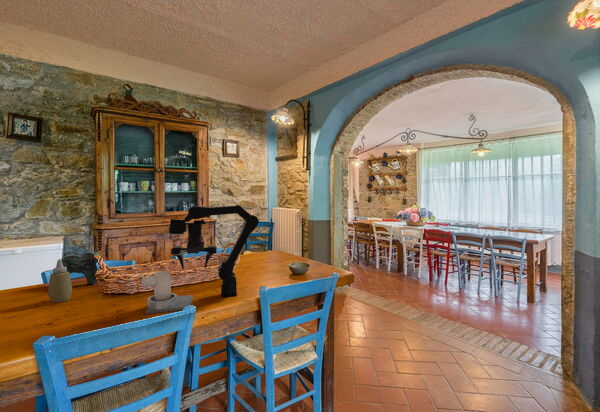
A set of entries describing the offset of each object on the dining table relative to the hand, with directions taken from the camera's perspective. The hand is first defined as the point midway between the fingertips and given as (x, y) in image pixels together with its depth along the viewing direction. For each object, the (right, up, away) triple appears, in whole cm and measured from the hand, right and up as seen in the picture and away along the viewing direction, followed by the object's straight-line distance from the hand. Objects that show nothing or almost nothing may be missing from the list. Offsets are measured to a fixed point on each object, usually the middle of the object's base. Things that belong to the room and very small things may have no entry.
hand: (194, 269), depth 125 cm
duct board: (-7, -13, -8) cm, 17 cm away
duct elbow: (-11, -12, -11) cm, 20 cm away
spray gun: (-67, -13, +20) cm, 71 cm away
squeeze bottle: (-57, -13, -3) cm, 59 cm away
